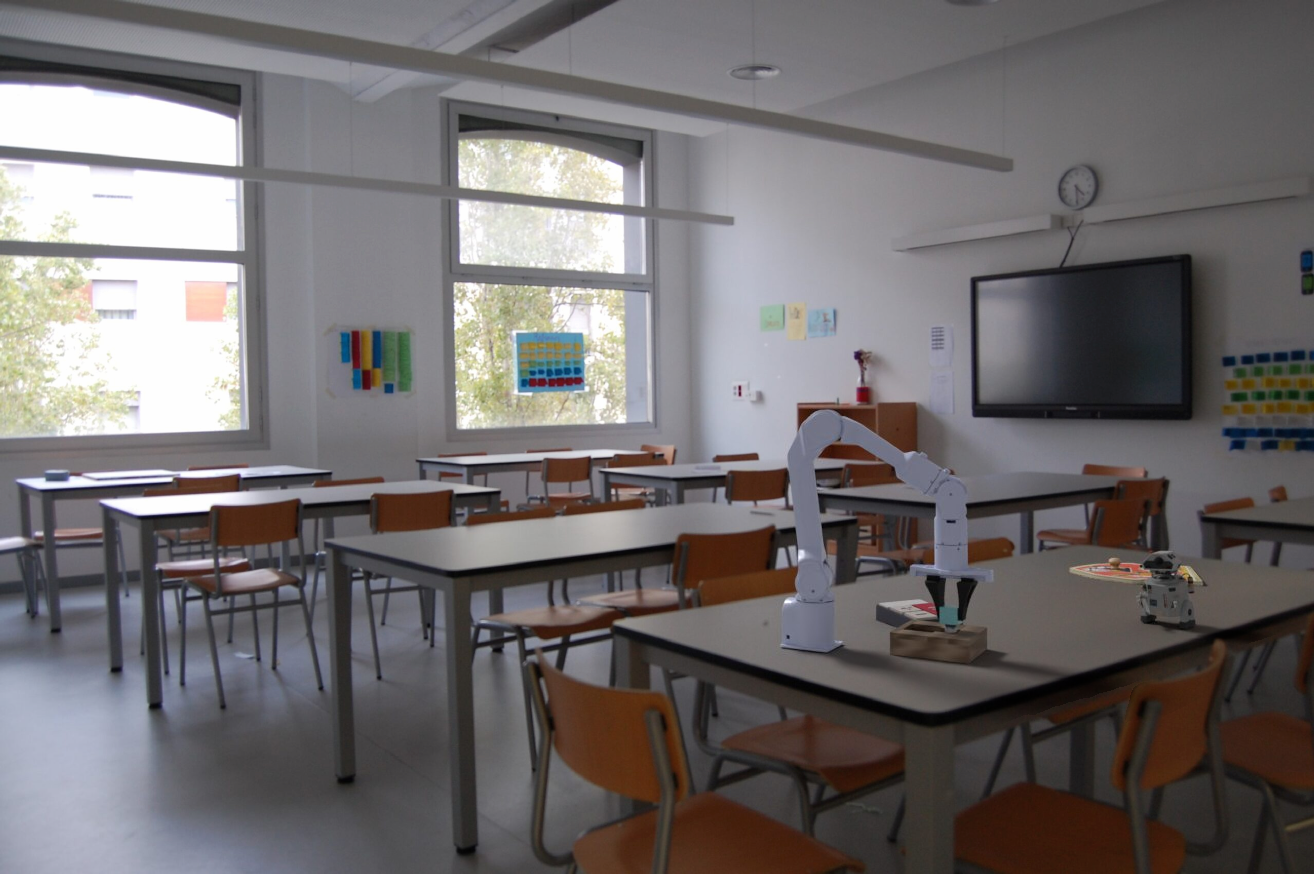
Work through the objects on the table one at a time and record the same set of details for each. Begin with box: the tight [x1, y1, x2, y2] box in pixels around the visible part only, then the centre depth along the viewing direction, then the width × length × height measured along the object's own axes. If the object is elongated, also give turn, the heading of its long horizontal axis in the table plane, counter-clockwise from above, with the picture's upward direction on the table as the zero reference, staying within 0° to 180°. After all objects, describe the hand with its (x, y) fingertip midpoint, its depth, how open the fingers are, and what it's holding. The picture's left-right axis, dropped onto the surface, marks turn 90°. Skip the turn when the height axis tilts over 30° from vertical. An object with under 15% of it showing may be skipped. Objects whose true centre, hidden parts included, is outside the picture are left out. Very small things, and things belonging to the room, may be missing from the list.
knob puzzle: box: [1069, 557, 1204, 587], centre depth 261 cm, size 29×30×4 cm
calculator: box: [875, 598, 964, 628], centre depth 207 cm, size 11×4×15 cm
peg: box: [940, 604, 964, 634], centre depth 183 cm, size 4×4×8 cm
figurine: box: [1135, 550, 1197, 631], centre depth 201 cm, size 9×12×15 cm
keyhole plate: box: [889, 620, 988, 665], centre depth 184 cm, size 14×12×4 cm
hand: (951, 618), depth 183 cm, fingers closed on peg, 3 cm apart
